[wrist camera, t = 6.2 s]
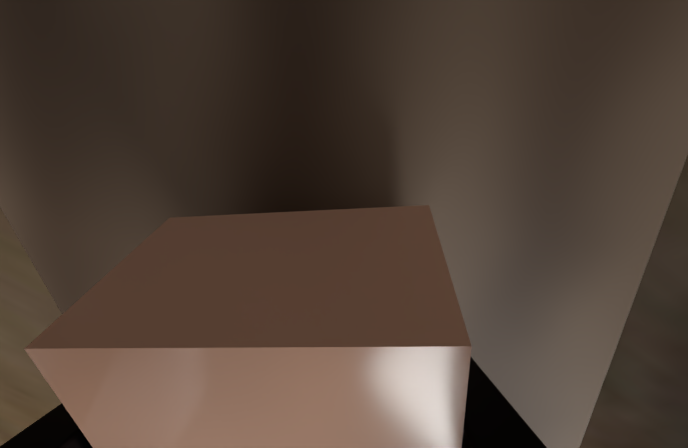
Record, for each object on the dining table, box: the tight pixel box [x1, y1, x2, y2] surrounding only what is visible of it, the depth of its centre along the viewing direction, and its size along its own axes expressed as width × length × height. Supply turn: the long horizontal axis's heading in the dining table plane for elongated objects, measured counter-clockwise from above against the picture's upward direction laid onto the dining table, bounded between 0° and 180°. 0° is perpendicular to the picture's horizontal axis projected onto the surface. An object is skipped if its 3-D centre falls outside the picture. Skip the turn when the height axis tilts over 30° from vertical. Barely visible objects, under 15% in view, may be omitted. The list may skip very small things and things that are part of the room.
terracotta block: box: [25, 205, 472, 448], centre depth 8 cm, size 6×6×4 cm
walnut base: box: [0, 0, 688, 448], centre depth 12 cm, size 18×18×2 cm
